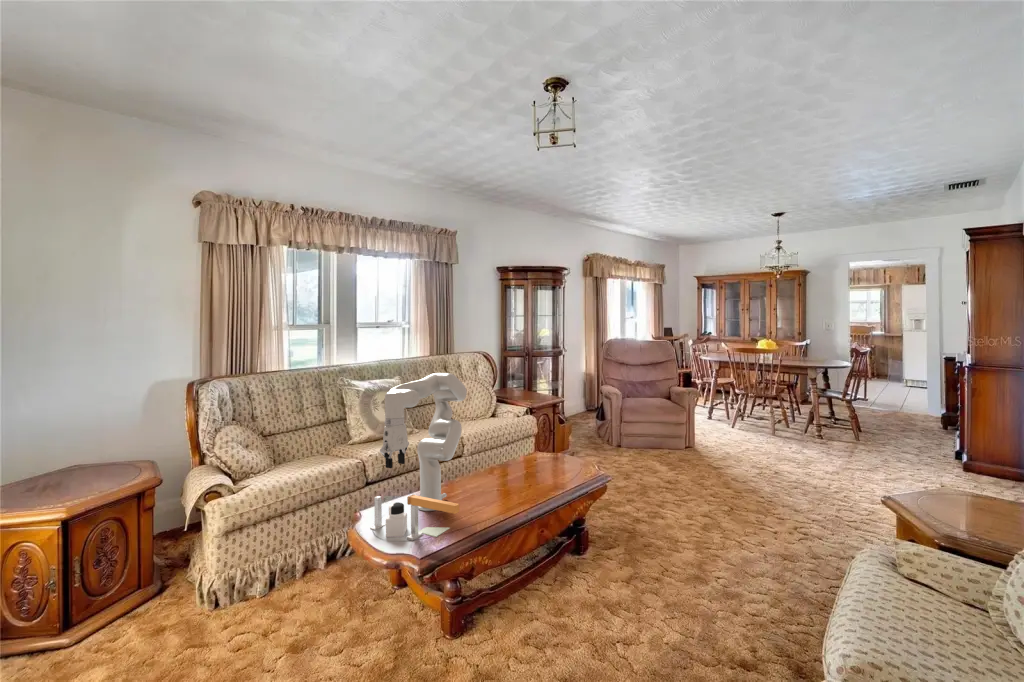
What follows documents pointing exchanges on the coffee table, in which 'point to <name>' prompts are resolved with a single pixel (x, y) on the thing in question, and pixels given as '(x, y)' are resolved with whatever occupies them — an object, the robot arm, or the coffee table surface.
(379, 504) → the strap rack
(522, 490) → the coffee table surface
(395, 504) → the medicine bottle
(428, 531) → the coaster
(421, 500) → the bar
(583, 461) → the coffee table surface
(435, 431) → the robot arm
